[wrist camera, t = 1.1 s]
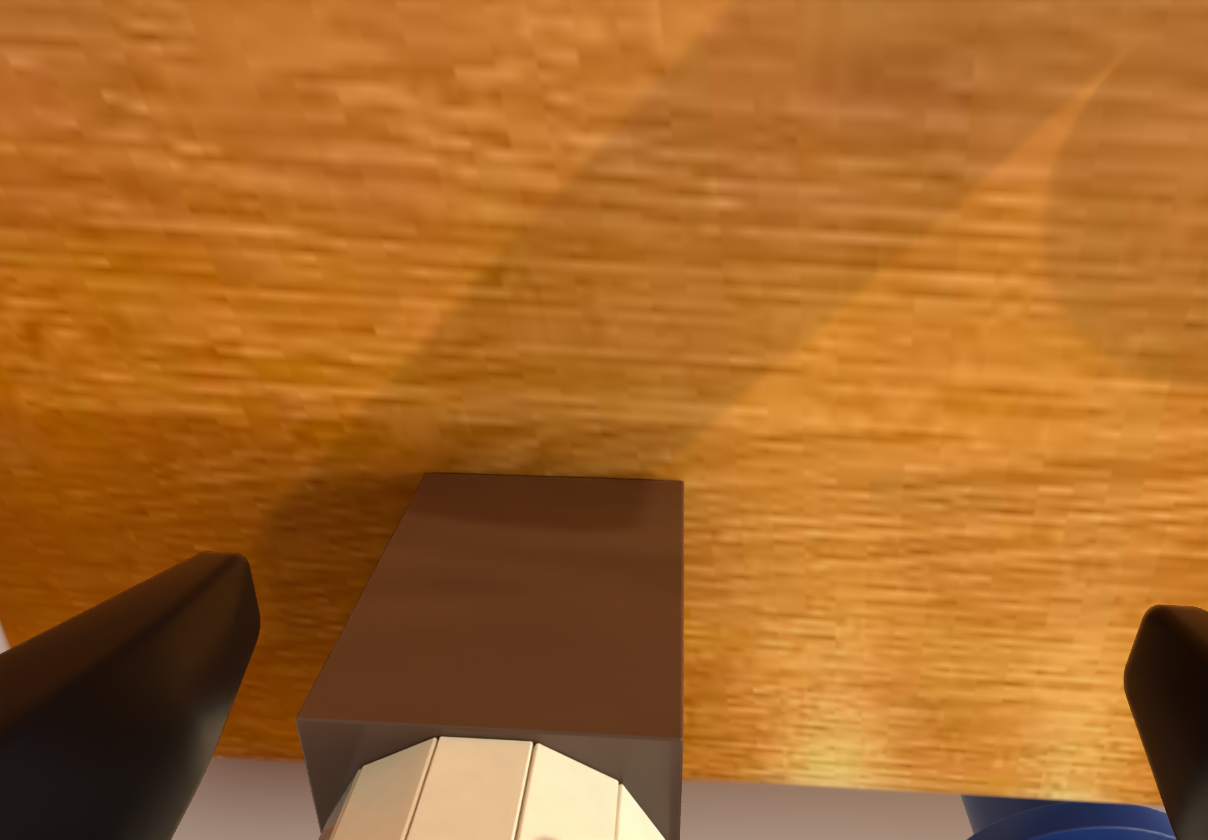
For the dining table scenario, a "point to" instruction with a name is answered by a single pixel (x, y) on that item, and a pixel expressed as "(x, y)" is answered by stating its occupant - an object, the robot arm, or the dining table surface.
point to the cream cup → (485, 796)
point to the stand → (516, 634)
